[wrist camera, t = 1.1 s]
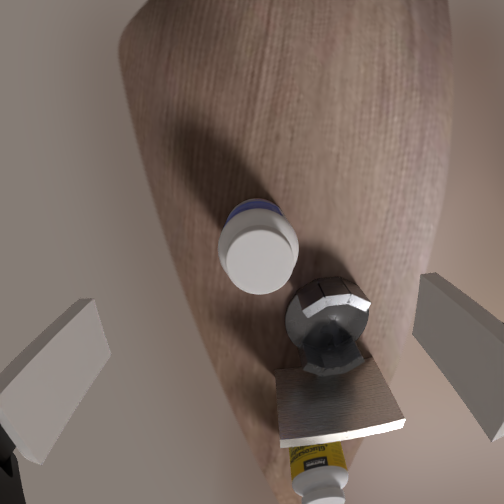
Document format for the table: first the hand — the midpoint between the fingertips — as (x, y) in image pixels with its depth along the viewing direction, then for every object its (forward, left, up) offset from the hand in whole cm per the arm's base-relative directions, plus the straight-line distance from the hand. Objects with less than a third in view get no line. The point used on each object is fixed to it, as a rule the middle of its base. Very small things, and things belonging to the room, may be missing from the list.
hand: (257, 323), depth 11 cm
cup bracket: (+6, +11, -16) cm, 21 cm away
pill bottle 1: (0, 0, -17) cm, 17 cm away
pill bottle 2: (+21, +18, -17) cm, 32 cm away
